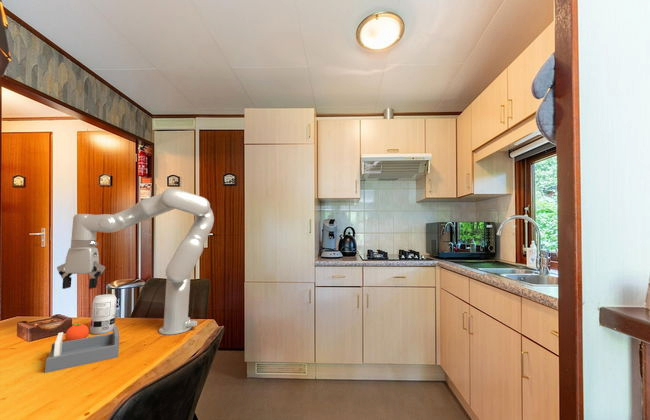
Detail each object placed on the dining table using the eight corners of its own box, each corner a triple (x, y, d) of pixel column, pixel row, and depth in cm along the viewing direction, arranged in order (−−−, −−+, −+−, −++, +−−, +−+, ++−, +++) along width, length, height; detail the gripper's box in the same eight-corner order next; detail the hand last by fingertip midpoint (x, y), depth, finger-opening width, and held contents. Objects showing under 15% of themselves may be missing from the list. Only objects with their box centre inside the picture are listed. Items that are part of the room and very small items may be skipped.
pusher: (61, 351, 97) (63, 332, 98) (58, 364, 88) (60, 342, 88) (56, 352, 96) (58, 332, 97) (52, 365, 87) (54, 343, 88)
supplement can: (85, 333, 117) (88, 297, 118) (105, 327, 125) (108, 293, 126) (98, 335, 115) (101, 298, 116) (118, 329, 123) (121, 294, 124)
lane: (115, 343, 108) (117, 325, 108) (118, 357, 96) (119, 336, 97) (51, 355, 96) (52, 335, 97) (45, 372, 85) (47, 349, 85)
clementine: (59, 343, 107) (61, 324, 107) (81, 337, 113) (83, 319, 113) (69, 347, 103) (70, 328, 104) (91, 341, 109) (93, 322, 110)
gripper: (112, 244, 116) (109, 286, 115) (68, 244, 115) (64, 286, 113) (99, 245, 108) (95, 290, 107) (51, 244, 107) (47, 290, 106)
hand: (79, 288), depth 110 cm, fingers open, 9 cm apart
